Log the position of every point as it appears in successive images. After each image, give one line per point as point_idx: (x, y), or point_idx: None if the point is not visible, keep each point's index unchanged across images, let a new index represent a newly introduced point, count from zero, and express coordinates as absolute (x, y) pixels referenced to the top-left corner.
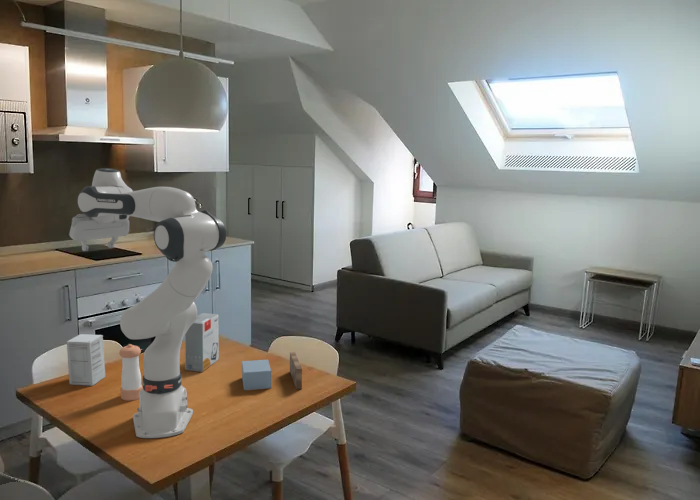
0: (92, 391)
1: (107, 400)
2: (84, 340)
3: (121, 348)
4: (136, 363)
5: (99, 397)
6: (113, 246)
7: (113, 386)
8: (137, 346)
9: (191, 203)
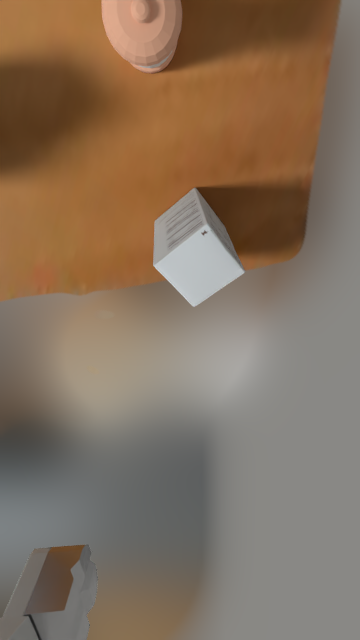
0: (208, 154)
1: (207, 62)
2: (210, 249)
3: (168, 39)
4: None
5: (212, 101)
6: (30, 562)
7: (161, 150)
8: (109, 8)
9: None
